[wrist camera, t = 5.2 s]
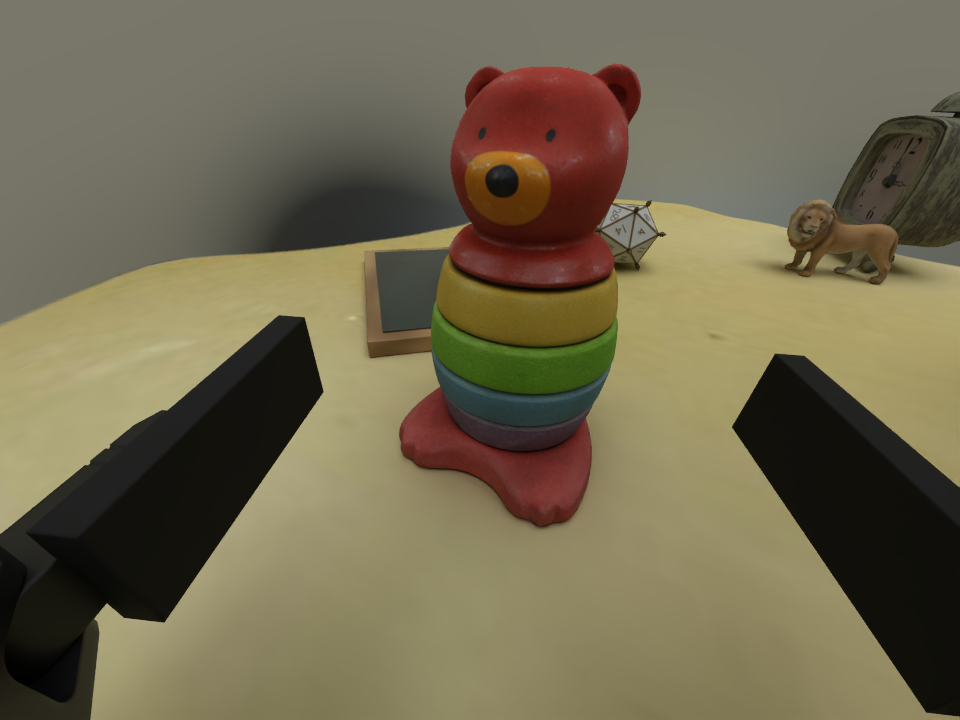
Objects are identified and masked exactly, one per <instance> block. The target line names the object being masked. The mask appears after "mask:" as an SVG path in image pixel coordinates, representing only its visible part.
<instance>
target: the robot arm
mask: <svg viewBox="0 0 960 720" xmlns="http://www.w3.org/2000/svg"><path fill="white" fill-rule="evenodd" d="M322 393H323V388H322V384H321V380H320V376H319V372H318V368H317V364H316V360H315V356H314V352H313V349H312V345H311V341H310V337H309V333H308V329H307V325H306V321H305V317H293V316H280V315H279V316H278V317H276V318H275V319H274V320H273V321H272V322H270V323H269V324H268V325H267V326H266V327H265V328H263V329H262V330H261V331H260V332H259V333H258V334H256V335H255V336H254V337H253V338H252V339H251V340H249V341H248V342H247V343H246V344H245V345H244V346H242V347H241V348H240V349H239V350H238V351H237V352H235V353H234V354H233V355H232V356H231V357H230V358H228V359H227V360H226V361H225V362H224V363H223V364H221V365H220V366H219V367H218V368H217V369H216V370H214V371H213V372H212V373H211V374H210V375H209V376H207V377H206V378H205V379H204V380H203V381H202V382H200V383H199V384H198V385H197V386H196V387H195V388H193V389H192V390H191V391H190V392H189V393H188V394H186V395H185V396H184V397H183V398H182V399H181V400H179V401H178V402H177V403H176V404H175V405H174V406H172V407H171V408H170V409H169V410H168V411H165V410H161V411H159V412H158V413H156V414H154V415H152V416H150V417H148V418H147V419H145V420H143V421H141V422H139V423H137V424H135V425H134V426H132V427H131V428H130V429H129V430H127V431H126V432H125V433H124V434H123V435H121V436H120V437H119V438H118V439H116V440H115V441H114V442H113V443H112V444H110V448H109V449H104V450H103V451H102V452H101V453H99V454H98V455H97V456H96V457H94V458H93V459H92V460H91V461H90V464H89V465H85V466H83V467H82V468H81V469H80V470H79V471H77V472H76V473H75V474H74V475H72V476H71V477H70V478H69V479H68V480H66V481H65V482H64V483H63V484H61V485H60V486H59V487H58V488H57V489H55V490H54V491H53V492H52V493H50V494H49V495H48V496H47V497H46V498H44V499H43V500H42V501H41V502H39V503H38V504H37V505H36V506H35V507H33V508H32V509H31V510H30V511H28V512H27V513H26V514H25V515H24V516H22V517H21V518H20V519H19V520H17V521H16V522H15V523H14V524H13V525H11V526H10V527H9V528H8V529H6V530H5V531H4V532H3V533H1V534H0V720H90V717H91V707H92V698H93V689H94V679H95V670H96V660H97V651H98V641H99V628H98V623H97V621H96V620H95V619H94V618H95V617H96V615H97V614H98V613H99V612H100V611H101V609H102V608H103V607H104V606H105V605H106V603H108V604H109V605H110V606H111V607H112V608H113V609H115V610H116V611H117V612H118V613H119V614H120V615H121V616H123V617H124V618H130V619H139V620H147V621H156V622H165V621H166V619H167V618H168V617H169V615H170V614H171V612H172V611H173V609H174V608H175V606H176V605H177V604H178V602H179V601H180V599H181V598H182V596H183V595H184V593H185V592H186V590H187V589H188V588H189V586H190V585H191V583H192V582H193V580H194V579H195V577H196V576H197V575H198V573H199V572H200V570H201V569H202V567H203V566H204V564H205V563H206V561H207V560H208V559H209V557H210V556H211V554H212V553H213V551H214V550H215V548H216V547H217V546H218V544H219V543H220V541H221V540H222V538H223V537H224V535H225V534H226V533H227V531H228V530H229V528H230V527H231V525H232V524H233V522H234V521H235V519H236V518H237V517H238V515H239V514H240V512H241V511H242V509H243V508H244V506H245V505H246V504H247V502H248V501H249V499H250V498H251V496H252V495H253V493H254V492H255V490H256V489H257V488H258V486H259V485H260V483H261V482H262V480H263V479H264V477H265V476H266V475H267V473H268V472H269V470H270V469H271V467H272V466H273V464H274V463H275V461H276V460H277V459H278V457H279V456H280V454H281V453H282V451H283V450H284V448H285V447H286V446H287V444H288V443H289V441H290V440H291V438H292V437H293V435H294V434H295V433H296V431H297V430H298V428H299V427H300V425H301V424H302V422H303V421H304V419H305V418H306V417H307V415H308V414H309V412H310V411H311V409H312V408H313V406H314V405H315V404H316V402H317V401H318V399H319V398H320V396H321V395H322ZM732 428H733V429H734V431H735V432H736V434H737V435H738V437H739V438H740V440H741V441H742V443H743V444H744V446H745V447H746V448H747V450H748V451H749V453H750V454H751V456H752V457H753V459H754V460H755V462H756V463H757V465H758V466H759V468H760V469H761V471H762V472H763V473H764V475H765V476H766V478H767V479H768V481H769V482H770V484H771V485H772V487H773V488H774V490H775V491H776V493H777V494H778V495H779V497H780V498H781V500H782V501H783V503H784V504H785V506H786V507H787V509H788V510H789V512H790V513H791V515H792V516H793V517H794V519H795V520H796V522H797V523H798V525H799V526H800V528H801V529H802V531H803V532H804V534H805V535H806V537H807V538H808V539H809V541H810V542H811V544H812V545H813V547H814V548H815V550H816V551H817V553H818V554H819V556H820V557H821V559H822V560H823V562H824V563H825V564H826V566H827V567H828V569H829V570H830V572H831V573H832V575H833V576H834V578H835V579H836V581H837V582H838V584H839V585H840V586H841V588H842V589H843V591H844V592H845V594H846V595H847V597H848V598H849V600H850V601H851V603H852V604H853V606H854V607H855V608H856V610H857V611H858V613H859V614H860V616H861V617H862V619H863V620H864V622H865V623H866V625H867V626H868V628H869V629H870V630H871V632H872V633H873V635H874V636H875V638H876V639H877V641H878V642H879V644H880V645H881V647H882V648H883V650H884V651H885V653H886V654H887V655H888V657H889V658H890V660H891V661H892V663H893V664H894V666H895V667H896V669H897V670H898V672H899V673H900V675H901V676H902V677H903V679H904V680H905V682H906V683H907V685H908V686H909V688H910V689H911V691H912V692H913V694H914V695H915V697H916V698H917V699H918V701H919V702H920V704H921V705H922V707H923V708H924V710H925V711H926V713H935V714H943V715H951V716H960V487H958V486H957V485H956V484H954V483H953V482H952V481H951V480H950V479H949V478H947V477H946V476H945V475H944V474H943V473H941V472H940V471H939V470H938V469H937V468H936V467H934V466H933V465H932V464H931V463H930V462H929V461H927V460H926V459H925V458H924V457H923V456H921V455H920V454H919V453H918V452H917V451H916V450H914V449H913V448H912V447H911V446H910V445H909V444H907V443H906V442H905V441H904V440H903V439H901V438H900V437H899V436H898V435H897V434H896V433H894V432H893V431H892V430H891V429H890V428H889V427H887V426H886V425H885V424H884V423H883V422H881V421H880V420H879V419H878V418H877V417H876V416H874V415H873V414H872V413H871V412H870V411H869V410H867V409H866V408H865V407H864V406H863V405H861V404H860V403H859V402H858V401H857V400H856V399H854V398H853V397H852V396H851V395H850V394H849V393H847V392H846V391H845V390H844V389H843V388H841V387H840V386H839V385H838V384H837V383H836V382H834V381H833V380H832V379H831V378H830V377H829V376H827V375H826V374H825V373H824V372H823V371H821V370H820V369H819V368H818V367H817V366H816V365H814V364H813V363H812V362H811V361H810V360H809V359H807V358H806V357H805V356H799V355H786V354H775V355H774V356H773V358H772V360H771V362H770V363H769V365H768V367H767V368H766V370H765V372H764V373H763V375H762V377H761V379H760V380H759V382H758V384H757V385H756V387H755V389H754V390H753V392H752V394H751V396H750V397H749V399H748V401H747V402H746V404H745V406H744V407H743V409H742V411H741V413H740V414H739V416H738V418H737V419H736V421H735V423H734V424H733V426H732Z"/></svg>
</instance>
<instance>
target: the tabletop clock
mask: <svg viewBox="0 0 960 720" xmlns="http://www.w3.org/2000/svg"><path fill="white" fill-rule="evenodd" d="M931 112H947V113H955V114H954V116H953V117H942V116H941V117H940V116H918V115H916V116H908V117H899V118H893V119H890V120H888V121H886V122H885V123H883V124H881V125H880V126H879V127H878V128H877V130H876V131H875V132H874V133H873V135H872V136H871V138H870V139H869V141H868V142H867V144H866V145H865V147H864V148H863V150H862V152H861V153H860V155H859V157H858V158H857V160H856V162H855V163H854V165H853V167H852V168H851V170H850V172H849V174H848V176H847V178H846V180H845V182H844V184H843V186H842V188H841V190H840V192H839V194H838V196H837V198H836V200H835V202H834V205H833V207H832V208H833V209H834V210H835V212H836V213H837V214H838V216H839V217H840V218H841V220H842V221H843V222H845V223H846V224H847V225H868V224H883V225H887V226H890V227H891V228H893V229H894V230H895V231H896V233H897V235H898V244H901V245H911V246H921V247H940V246H945V245H948V244H951V243H954V242H957V241H960V92H957V93H954V94H952V95H950V96H949V97H947V98H945V99H944V100H942V101H941V102H940V103H938V104H937V105H936V106H935V107H934V108H933V109H932V110H931ZM894 257H895V256H893V258H892V260H891V262H893V261H894ZM891 262H890V263H891ZM862 268H863V270H864V271H866V272H873V271H875V270H877V269H878V268H877V267H876V266H875V264H874V263H873V262H872V261H871V260H868V261H866V262H865V263H864V264H863V266H862Z"/></svg>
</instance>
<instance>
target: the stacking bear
mask: <svg viewBox="0 0 960 720" xmlns="http://www.w3.org/2000/svg"><path fill="white" fill-rule="evenodd" d="M640 98H641V88H640V83H639V80H638V78H637V76H636V74H635V73H634V72H633V71H632V70H631V69H630V68H629V67H627V66H624V65H621V64H613V65H609V66H606V67H604V68H603V69H601V70H600V71H598V72H597V73H595V74H593V75H590V74H587V73H585V72H582V71H577V70H574V69H570V68H562V67H528V68H521V69H517V70H513V71H510V72H507V73H503V72H502V71H501V70H500V69H498V68H497V67H492V66H488V67H484V68H482V69H480V70H479V71H477V73H476V74H475V75H474V76H473V77H472V79H471V81H470V82H469V83H468V85H467V88H466V93H465V102H466V107H467V110H466V111H465V113H464V115H463V117H462V119H461V121H460V123H459V126H458V128H457V131H456V133H455V137H454V140H453V145H452V150H451V165H450V166H451V174H452V179H453V183H454V188H455V191H456V194H457V196H458V199H459V202H460V204H461V206H462V208H463V210H464V212H465V214H466V215H467V217H468V218H469V220H470V221H471V222H472V224H469V225H467V226H466V227H464V228H463V229H462V230H461V231H460V232H459V233H458V234H457V236H456V237H455V238H454V240H453V241H452V243H451V245H450V247H449V254H448V255H447V257H446V258H445V260H444V262H443V265H442V269H441V273H440V278H439V283H438V288H437V296H436V301H435V304H434V308H433V314H432V324H431V344H432V356H433V362H434V367H435V371H436V375H437V379H438V382H439V384H440V386H441V387H440V388H438V389H436V390H435V391H434V392H432V393H431V394H429V395H428V396H427V397H425V398H424V399H423V400H422V401H421V402H419V403H418V404H417V405H416V406H415V407H414V408H413V409H412V410H411V412H410V413H409V414H408V415H407V416H406V417H405V419H404V421H403V422H402V424H401V426H400V431H399V437H400V440H401V450H402V452H403V454H404V455H405V456H407V457H408V458H411V459H413V460H414V462H415V463H417V464H418V465H420V466H423V467H428V468H451V469H458V470H462V471H466V472H468V473H471V474H473V475H475V476H477V477H479V478H481V479H482V480H484V481H485V482H487V483H488V484H489V485H490V486H492V487H493V488H494V490H495V491H496V492H497V493H498V495H499V496H500V498H501V499H502V501H503V502H504V504H505V505H506V507H507V508H508V509H509V510H510V511H511V512H512V513H513V514H515V515H517V516H519V517H522V518H526V519H529V520H531V521H532V522H533V523H535V524H537V525H540V526H542V525H547V524H550V523H552V522H562V521H565V520H567V519H568V518H570V517H571V516H572V515H573V514H574V513H575V511H576V510H577V508H578V506H579V504H580V502H581V500H582V498H583V495H584V492H585V490H586V487H587V483H588V479H589V474H590V468H591V458H592V447H591V439H590V433H589V429H588V425H587V422H586V419H585V418H586V416H587V415H588V413H589V411H590V409H591V407H592V405H593V403H594V401H595V400H596V399H597V397H598V395H599V393H600V391H601V389H602V387H603V385H604V383H605V380H606V378H607V376H608V373H609V371H610V367H611V363H612V361H613V358H614V354H615V348H616V340H617V329H618V323H617V317H616V315H617V305H618V284H617V276H616V272H615V269H614V264H615V260H614V256H613V254H612V251H611V249H610V247H609V245H608V243H607V242H606V241H605V240H604V238H603V237H602V236H600V235H599V234H598V233H596V232H594V229H595V228H596V227H597V226H598V225H599V224H600V222H601V221H602V220H603V218H604V217H605V215H606V214H607V212H608V210H609V209H610V207H611V205H612V203H613V201H614V199H615V198H616V195H617V193H618V191H619V189H620V186H621V183H622V180H623V177H624V174H625V170H626V165H627V159H628V148H629V147H628V125H629V123H630V121H631V119H632V118H633V116H634V115H635V113H636V111H637V110H638V107H639V103H640Z"/></svg>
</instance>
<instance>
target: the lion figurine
mask: <svg viewBox="0 0 960 720" xmlns="http://www.w3.org/2000/svg"><path fill="white" fill-rule="evenodd" d="M787 234H788V237H789V242H790V245H791V246H792V247H794V249H796V253H795V257H794V261H793V262H792V263H790V264H787V265H785V268H787V269H795V268H797V267H798V266H799V265H800V264H801V263H802V260H803V258H804V256H805V254H806V253H807V252H809V251H810V252H811V257H810V260H809V262H808V264H807V265H806V267H805V268H804V270H801V271H800V272H799V275H802V276H805V277H808V276H810V275H811V274H812V273H813V271H814V269H815V267H816V265H817V263H818V262H819V261H820V259H821V258H822V257H823V256H824V255H825V254H826V253H832V254H843V253H849V252H852V251H853V255H852V260H851V262H850V263H849V264H848V265H846V266H845V267H837V268H835V269H834V271H835V272H838V273H846V272H848V271H850V270H851V269H853V268H855V267H857V266H859V265H860V264H861V262H862V259H863V258H864V256H866V255H867V254H869V257H870V259H871V261H872V262H873V263H874V264H875V266H876V267H877V268H878V269H879V275H878V276H875V277H871V278H870V279H869V281H870V282H872V283H875V284H880V283H882V282H883V281H884V279H885V278H886V276H887V274H888V272H889V270H890V268H891V265H890V262H891V260H892V258H893V256H894V253H895V251H896V248H897V245H898V235H897V233H896V231H895V230H894V229H893V228H891V227H890V226H887V225H883V224H868V225H847V224H846V223H845V222H843V221H842V220H841V218H840V217H839V216H838V214H837V213H836V212H835V210H834V209H833V208H832V207H831V206H830V204H828V202H827V201H823V200H814V201H813V200H810V201H808V202H806V203H804V204H803V205H802V206H800V207H799V208H797V209H796V211H795V212H794V213H793V214H792V216H791V218H790V224H789V227H788V230H787Z"/></svg>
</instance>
